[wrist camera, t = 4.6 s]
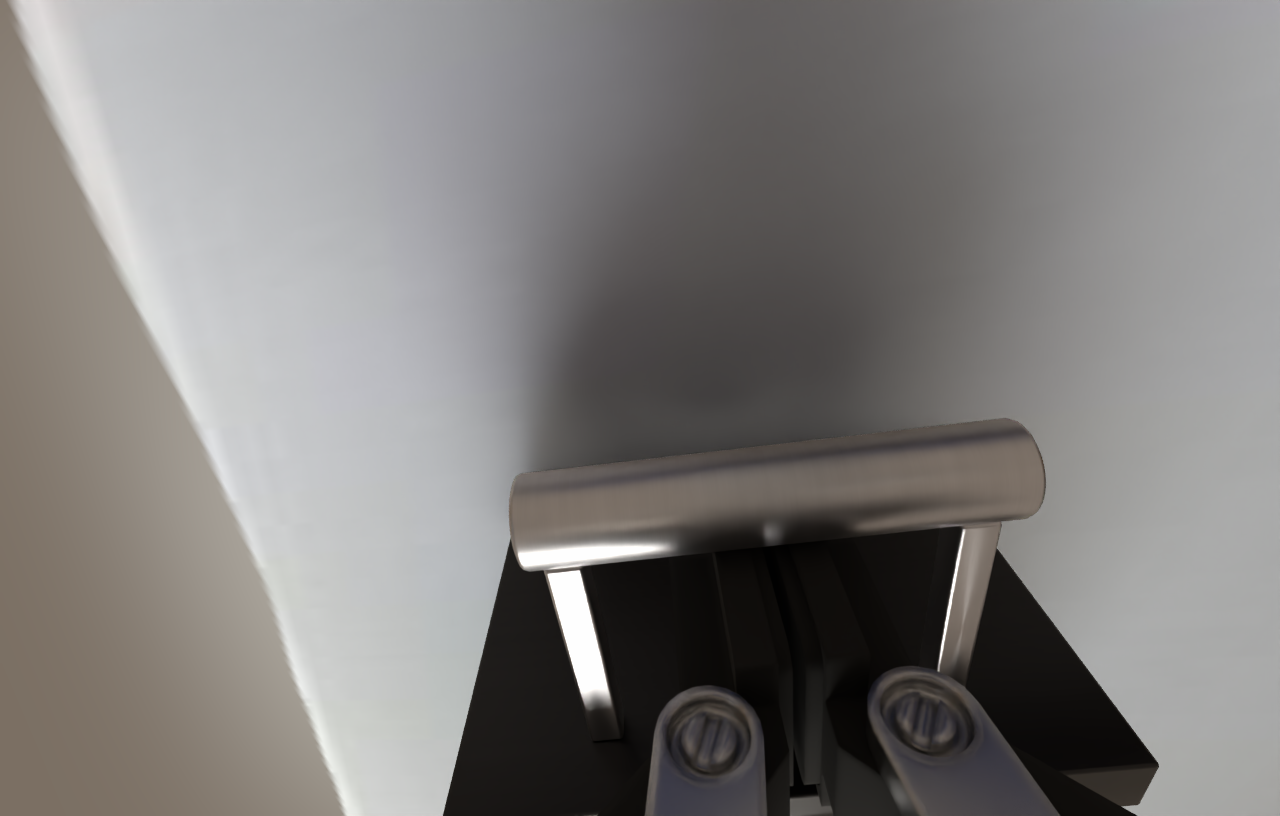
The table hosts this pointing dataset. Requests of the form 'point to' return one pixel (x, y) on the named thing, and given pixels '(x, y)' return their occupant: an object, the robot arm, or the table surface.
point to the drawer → (758, 517)
